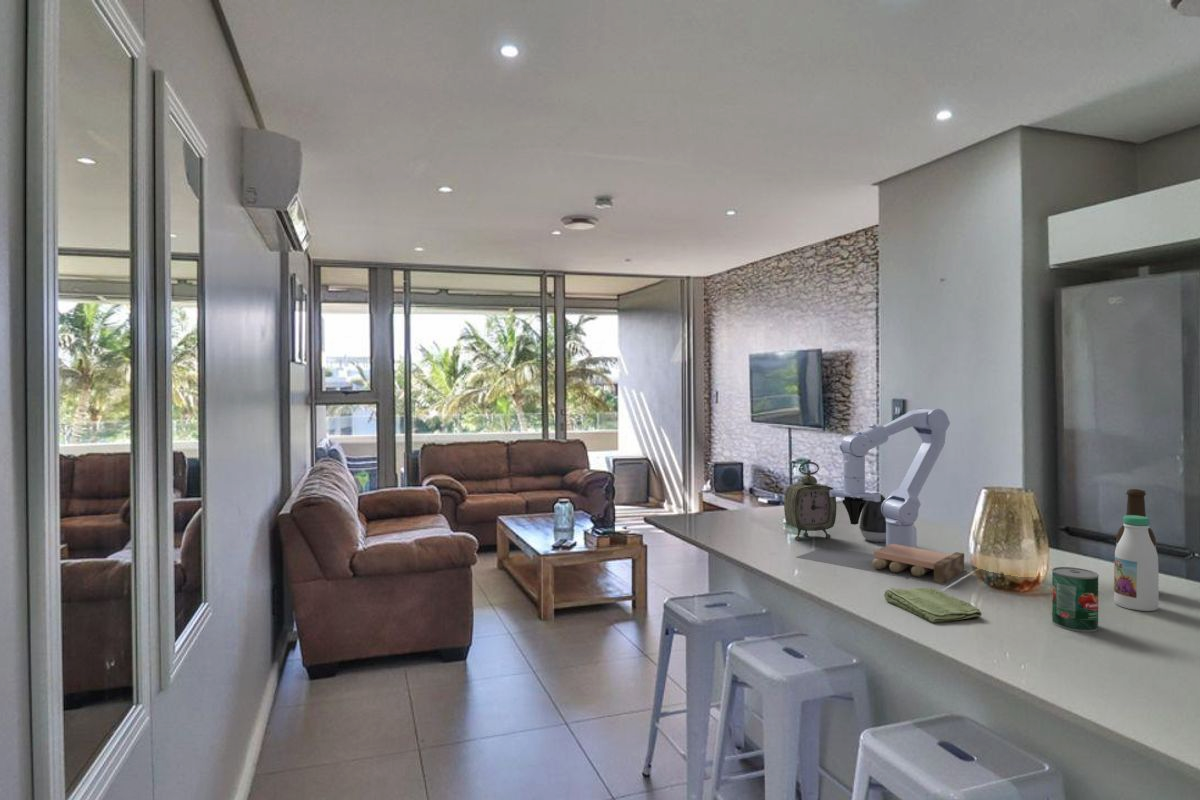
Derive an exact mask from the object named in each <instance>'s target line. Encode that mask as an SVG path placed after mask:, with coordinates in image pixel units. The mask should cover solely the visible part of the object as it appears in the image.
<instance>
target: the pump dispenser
mask: <svg viewBox="0 0 1200 800" xmlns="http://www.w3.org/2000/svg"><path fill="white" fill-rule="evenodd" d="M872 493H873V492H872ZM873 494H880V495H881V501H879V502H874V501H868V500H866V504H865V505H864V507H863V509H862V512H861V514H860V518H859V526H858V527H859V530H860V533H861V535H862V537H863V538H864V539H865V540H867V541H870V542H872V543H886V521H885V517H884V516H883V515H882V513H881V505H882V503H883V501H884V500H886V499H887V498H886V497H885V496H884V495H883V494H881V493H880V492H874V493H873Z"/></svg>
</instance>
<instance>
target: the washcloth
mask: <svg viewBox="0 0 1200 800" xmlns="http://www.w3.org/2000/svg"><path fill="white" fill-rule="evenodd" d="M883 597H884V599H885V601H886V602H887V603H890V604H892V605H894V606H895V607H898V608H900V609H902V610H904V611H907V612H910V613H911V614H913V615H916V616H919V617H920V618H922V619H925V620H926V621H929V622H930V623H933V624H936V623H942V622H950V621H951V622H952V621H960V620H965V619H970V618H971V619H973V618H980V617H982V615H983V614H982V612H981V610H980V609H979V608H977V607H975V606H974V605H973V604H971V603H970V602H967V601H965V600H963V599H959V598H956V597H954V596H950V595H948V594H946V593H944V592H943V591H941V590H938V589H935V588H934V587H933V588H932V587H913V588H906V589H904V588H893V589H891V588H889V589H886V590H885V591H884V595H883Z"/></svg>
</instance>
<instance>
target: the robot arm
mask: <svg viewBox="0 0 1200 800" xmlns="http://www.w3.org/2000/svg"><path fill="white" fill-rule="evenodd" d="M950 424H951V421H950V419H949V417H948V414H947V412H946V411H944V410H943V409H940V408H921V407H917V408H914V409H913V410H909V411H907V412H906V413H904V414H903V415H900V416H899V417H897V418H895V419H893V420H892V421H890V422H888V423H885V424H884V425H881V424H880V423H879V424H876V423H871V424H870V425H868V428H866V429H863V430H862V431H860V430H858V431H856V432H855V434H854V435H850V434H849V435H846V436H844V437H843V439H842V440H841V443H840V444H839V450H840V451H841V454H842V455H843V456H842V457H843V489H834V488H833V489H834V490H833V489H832V490H829V496H830V497H836V498H842V499H843V500H842V504H843V505H844V507H845V510H846V511H847V514H848V517H849V520H850V521H849V522H850V525H858V524H859V523H860V518H861V513H862V510H863V507H864V505H865V504H866V500H868V501H874V502H879V501H881V495H880V494H881V493H879V494H873V492H866V465H865V464H866V462H865V461H866V459H865V458H866V457H865V456H866V455H867V454H868V453H869V451H870V450H873V449H874V448H876V447H877V448H878V446H881V445H883V444H886V443H887V441H888V440H889V437H890V436H893V435H895V434H897V433H900V432H902V431H905V430H907V429H909V428H913V429H914V431H915V432H916V434H917V435H918V436H919V438H920V439H921V442H922V443H921V444H920V447H919V449H918V451H917V452H916V455H915V457H914V459H913V461H912V462H911V464H910V466H909V468H908V470H907V472H906V474H905V475H904V478H903V480H901V483H900V486H899V487H898V488H897V489H895V490H893V491H891V493H890V494H889V496H888V497H887V498H885V499H886V500H884V501H883V503H882V505H881V513H882V515H883V516H884V517H885V521H886V541H885V547H886V546H888V545H890V544H897V545H902V546H907V547H913V548H918V545H917V543H918V542H917V540H918V539H917V537H918V534H917V533H918V531H917V527H916V526H915V522H916V521H917V519H918V517H919V509H920V507H921V505H922V504H921V502H920V500H919V495H920V493H921V491H922V489H923V487H924V486H925V483H926V481H927V479H928V477H929V475H930V474H931V471H932V470H933V468H934V465H935V464H936V462H937V460H938V458H939V456H940V454H941V452H942V450H943V448H944V446H945V444H946V443H945V442H946V434H947V433H946V432H947V430H948V428H949V427H950Z"/></svg>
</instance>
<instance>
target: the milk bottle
mask: <svg viewBox="0 0 1200 800" xmlns="http://www.w3.org/2000/svg"><path fill="white" fill-rule="evenodd" d="M1122 521H1123V525H1124V527H1125V529H1124V533H1123V535H1122V537H1121V539H1120V541H1119V542H1118V544H1117V546H1116V545H1115V551H1114V567H1113V568H1114V569H1113V570H1114V571H1113V573H1114V574H1113V576H1114V577H1113V579H1114V580H1113V582H1114V583H1113V594H1114V595H1113V597H1114V599H1113V600H1114V602H1115V605H1117V606H1118V607H1122V608H1124V609H1129V610H1133V611H1140V612H1153V611H1157V610H1158V608H1159V556H1158V552H1157V547H1156V548H1155V546H1154V544H1153V543H1152V541H1151V539H1150V536H1149V533H1148V528H1150V529H1151V527H1150V524H1151V523H1150V521H1151V520H1150V518H1149V517H1147V516H1146V517H1144V516H1136V515H1124V516H1123V518H1122ZM1123 525H1122V526H1123Z"/></svg>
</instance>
